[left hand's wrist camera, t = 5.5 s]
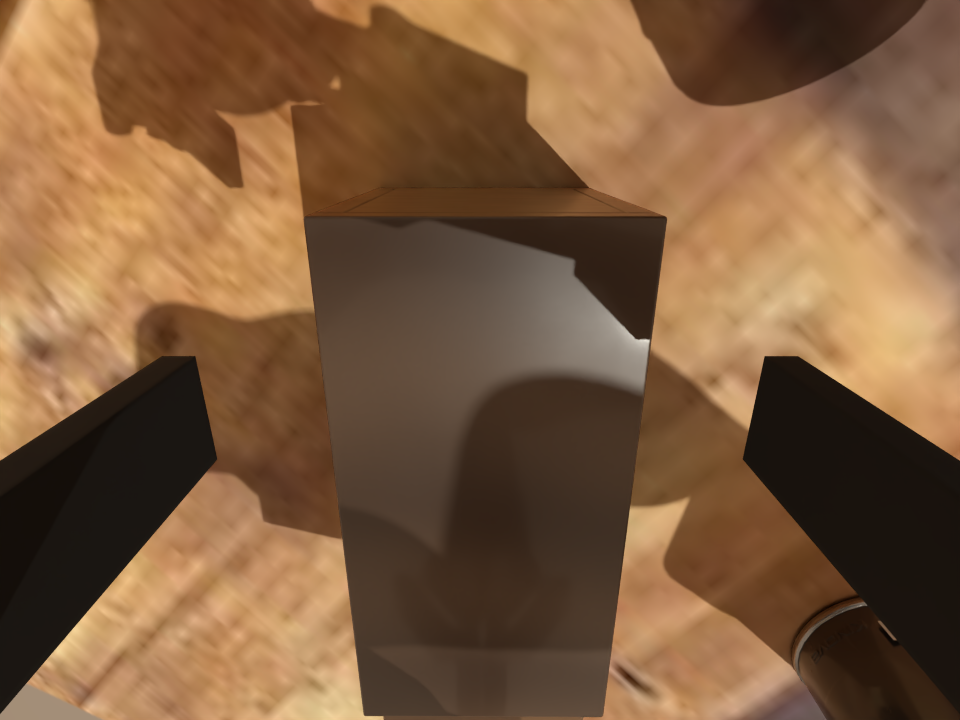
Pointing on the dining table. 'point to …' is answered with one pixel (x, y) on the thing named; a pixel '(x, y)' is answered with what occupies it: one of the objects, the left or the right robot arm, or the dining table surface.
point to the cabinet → (484, 436)
